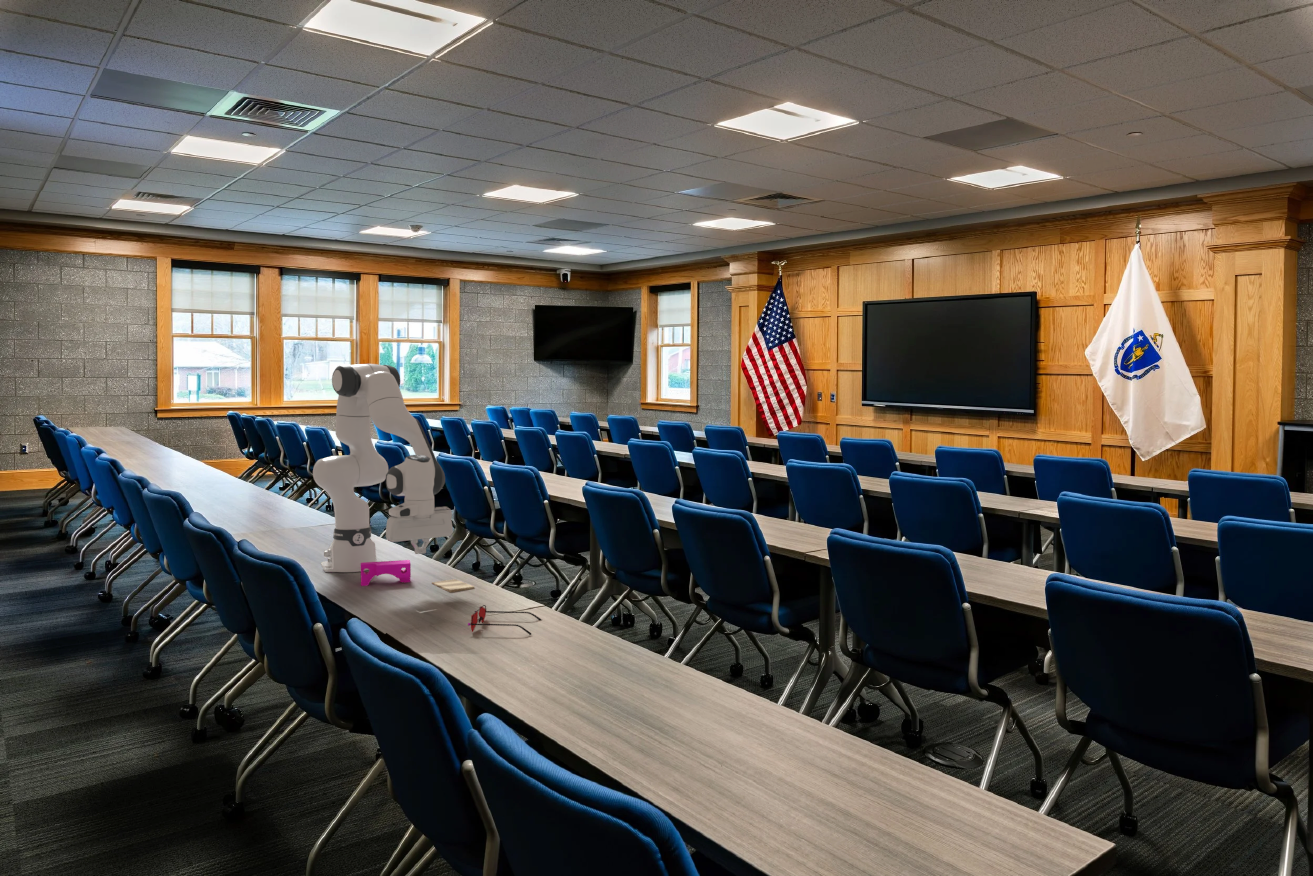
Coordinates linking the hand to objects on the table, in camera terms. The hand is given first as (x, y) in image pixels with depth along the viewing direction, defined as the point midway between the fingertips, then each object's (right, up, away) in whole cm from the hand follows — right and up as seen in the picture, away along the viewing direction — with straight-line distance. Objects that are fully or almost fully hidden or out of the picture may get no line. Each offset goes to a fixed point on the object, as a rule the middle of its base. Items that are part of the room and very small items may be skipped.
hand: (420, 553), depth 272 cm
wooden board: (+8, -12, +7) cm, 16 cm away
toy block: (-14, -4, +10) cm, 18 cm away
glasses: (+33, -15, -39) cm, 53 cm away
